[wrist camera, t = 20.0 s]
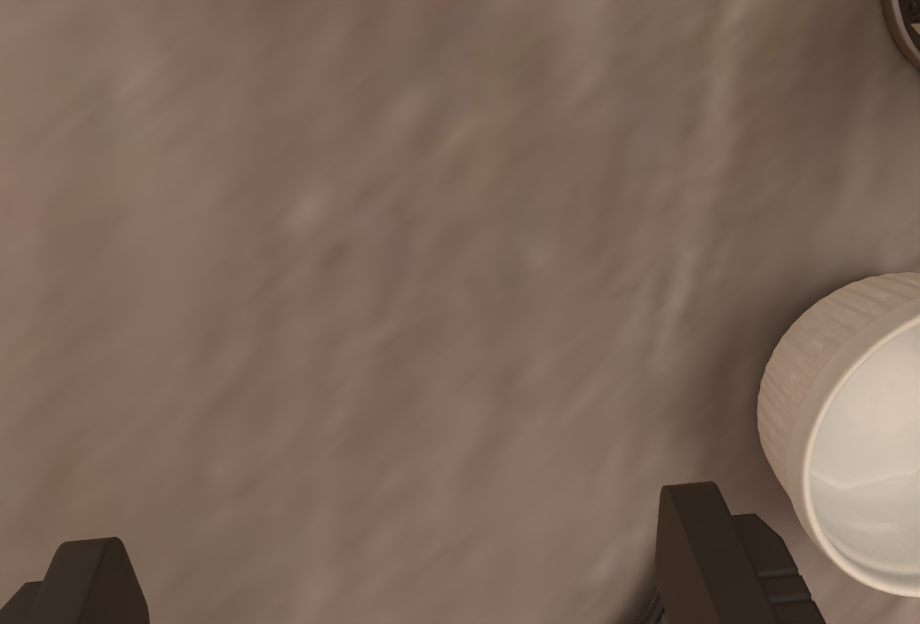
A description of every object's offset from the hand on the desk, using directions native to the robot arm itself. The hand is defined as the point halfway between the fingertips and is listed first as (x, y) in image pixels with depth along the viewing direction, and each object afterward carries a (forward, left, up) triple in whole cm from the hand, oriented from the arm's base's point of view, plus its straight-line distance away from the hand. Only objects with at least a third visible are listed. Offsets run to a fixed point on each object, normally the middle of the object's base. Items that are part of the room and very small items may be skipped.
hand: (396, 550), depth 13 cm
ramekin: (-11, +21, -24) cm, 34 cm away
